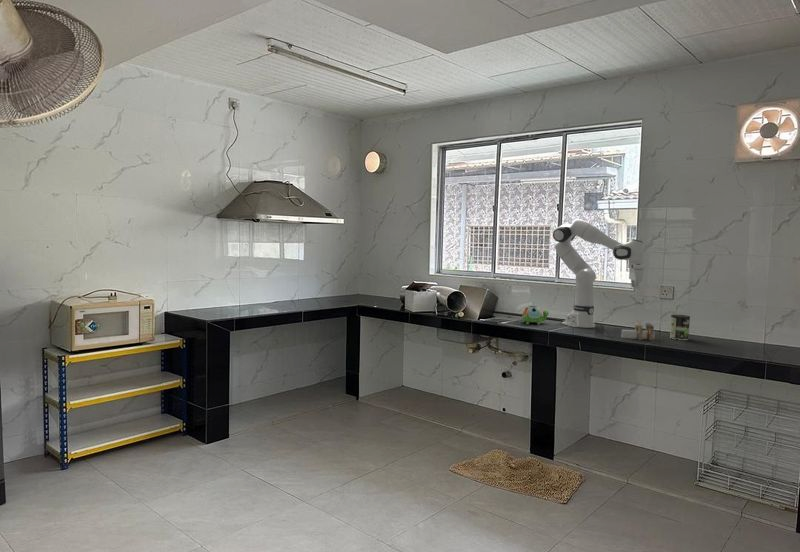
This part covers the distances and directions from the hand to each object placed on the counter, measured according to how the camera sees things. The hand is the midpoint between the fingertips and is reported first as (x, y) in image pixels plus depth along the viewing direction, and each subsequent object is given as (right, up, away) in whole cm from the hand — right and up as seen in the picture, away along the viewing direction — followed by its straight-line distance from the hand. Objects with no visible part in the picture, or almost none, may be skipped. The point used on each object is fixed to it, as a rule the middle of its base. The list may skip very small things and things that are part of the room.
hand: (634, 287), depth 348 cm
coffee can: (+22, -31, -12) cm, 40 cm away
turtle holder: (-55, -26, +34) cm, 70 cm away
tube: (-4, -30, -14) cm, 34 cm away
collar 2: (+2, -30, -15) cm, 34 cm away
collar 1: (-4, -30, -14) cm, 33 cm away
